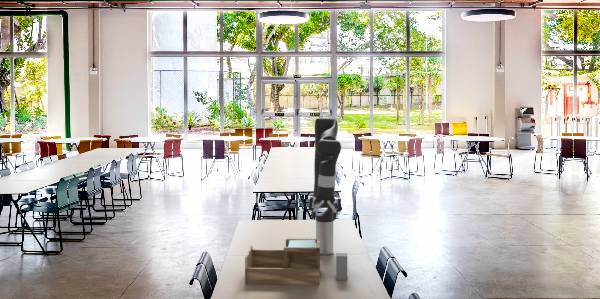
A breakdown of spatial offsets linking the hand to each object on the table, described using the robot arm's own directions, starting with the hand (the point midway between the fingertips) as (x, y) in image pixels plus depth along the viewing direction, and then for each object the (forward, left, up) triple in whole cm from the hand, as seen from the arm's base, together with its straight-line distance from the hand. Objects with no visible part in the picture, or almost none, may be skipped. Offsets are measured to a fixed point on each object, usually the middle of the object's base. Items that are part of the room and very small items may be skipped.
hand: (323, 219), depth 269 cm
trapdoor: (-4, -10, -13) cm, 17 cm away
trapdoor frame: (-4, -18, -28) cm, 34 cm away
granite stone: (-4, +8, -28) cm, 29 cm away
